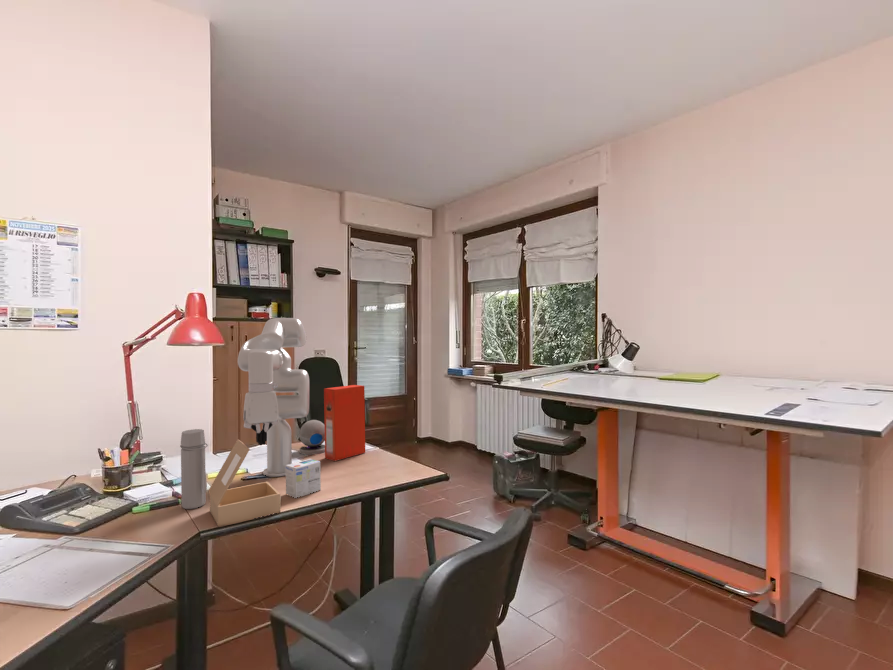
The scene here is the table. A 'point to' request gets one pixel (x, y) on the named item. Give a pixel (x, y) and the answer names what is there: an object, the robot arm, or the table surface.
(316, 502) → the table surface
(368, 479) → the table surface
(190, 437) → the water bottle
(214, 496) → the lid
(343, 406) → the file binder
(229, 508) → the cardboard tray
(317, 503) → the table surface
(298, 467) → the light bulb box
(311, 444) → the webcam
